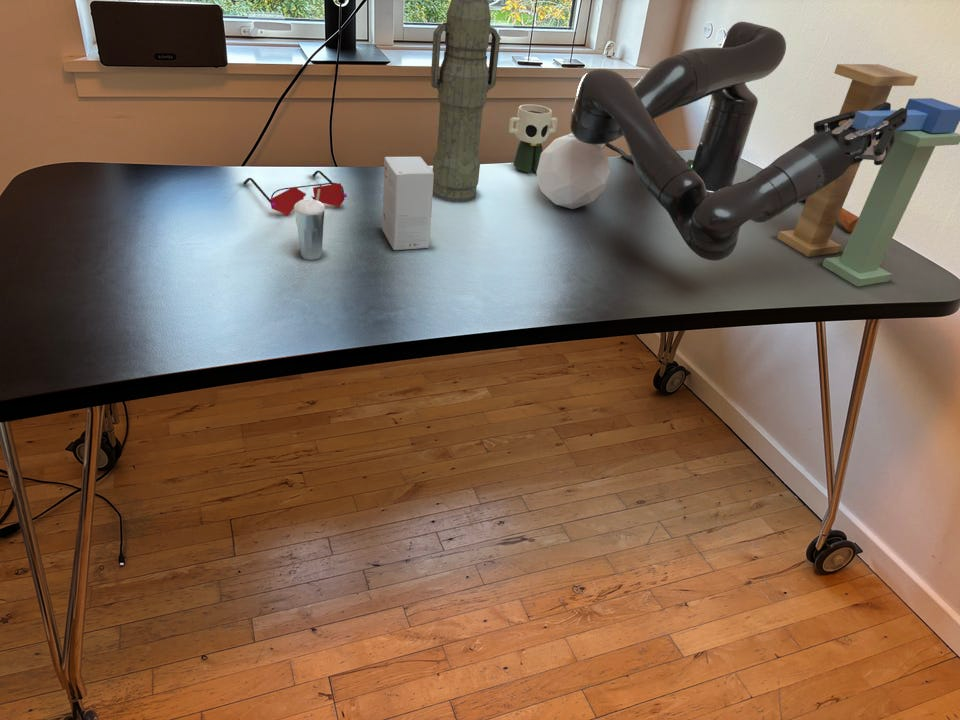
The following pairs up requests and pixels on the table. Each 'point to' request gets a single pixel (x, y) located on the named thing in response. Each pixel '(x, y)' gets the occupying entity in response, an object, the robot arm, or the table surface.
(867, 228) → the green pillar
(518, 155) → the character mug
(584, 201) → the geodesic sphere
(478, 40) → the green handled vase
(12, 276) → the table surface
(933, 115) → the peg
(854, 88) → the tall stand
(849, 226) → the kendama
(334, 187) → the glasses
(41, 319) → the table surface
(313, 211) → the milkshake
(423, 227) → the small box
